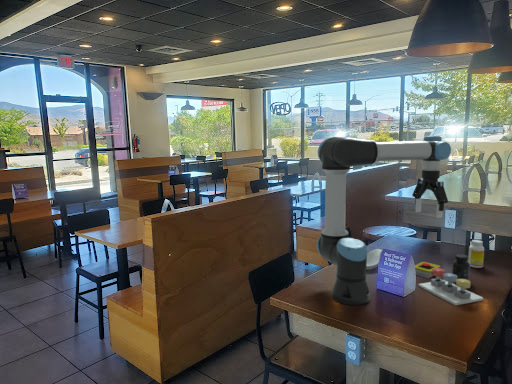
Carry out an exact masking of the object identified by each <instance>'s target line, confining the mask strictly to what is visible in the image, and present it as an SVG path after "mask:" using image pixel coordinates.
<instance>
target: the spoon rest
mask: <svg viewBox="0 0 512 384" xmlns="http://www.w3.org/2000/svg"><path fill="white" fill-rule="evenodd" d="M382 250H383V249H381V248H375V249H373V250H371V251H370V252H367V263H366V271H369V270H370V271H371V270H374V269H375V268H376V267H377V266H378V265H379V262H380V260H379V259H381V252H382Z"/></svg>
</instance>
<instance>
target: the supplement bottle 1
mask: <svg viewBox="0 0 512 384" xmlns="http://www.w3.org/2000/svg"><path fill="white" fill-rule="evenodd" d="M468 256H469V255H466V254H461V253H459V254H456V255H455V260H453V262H452V271H451V274H455V275H457V279H466V280H469V281H470V275H471V274H470V273H471V266H470V263H469V262H468ZM454 284H456V282H454Z"/></svg>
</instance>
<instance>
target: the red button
mask: <svg viewBox="0 0 512 384" xmlns="http://www.w3.org/2000/svg"><path fill="white" fill-rule="evenodd" d="M445 273H446V270H445V269H443V268H441V267H440V268H433V269H432V275H434V276H433V277H435V279H437V280H440V279H441V278H444V274H445Z"/></svg>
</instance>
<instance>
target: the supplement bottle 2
mask: <svg viewBox="0 0 512 384" xmlns="http://www.w3.org/2000/svg"><path fill="white" fill-rule="evenodd" d="M467 256H468V261H467V262H469V263H470V268H475V269H481V268H483V267H484V259H485V247H484V246H483V241H482V240H480V239H479V240H478V239H472V240H471V244H470V245H469V247H468V255H467Z"/></svg>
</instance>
